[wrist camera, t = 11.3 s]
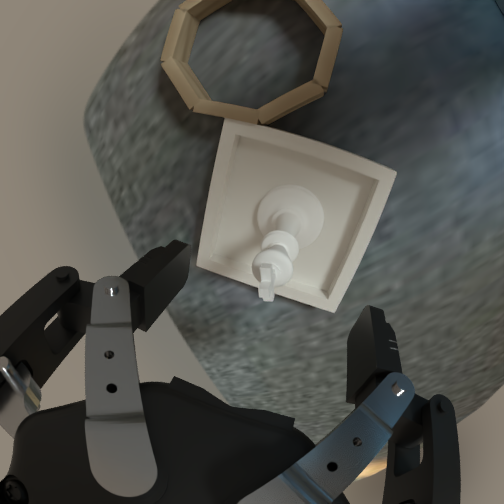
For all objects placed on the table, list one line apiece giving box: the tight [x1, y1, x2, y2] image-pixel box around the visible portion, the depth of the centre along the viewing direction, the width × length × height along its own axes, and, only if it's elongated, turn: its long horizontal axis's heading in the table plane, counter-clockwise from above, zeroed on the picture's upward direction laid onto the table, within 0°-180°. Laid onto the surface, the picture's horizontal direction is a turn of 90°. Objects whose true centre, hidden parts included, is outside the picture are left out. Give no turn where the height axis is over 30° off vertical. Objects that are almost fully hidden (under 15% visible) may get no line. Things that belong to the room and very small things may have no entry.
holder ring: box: [160, 0, 343, 125], centre depth 15 cm, size 12×12×2 cm
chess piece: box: [252, 184, 324, 301], centre depth 16 cm, size 5×5×10 cm
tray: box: [196, 118, 397, 313], centre depth 20 cm, size 12×12×2 cm
